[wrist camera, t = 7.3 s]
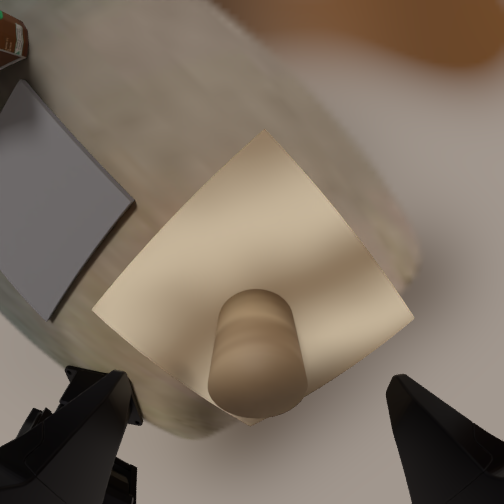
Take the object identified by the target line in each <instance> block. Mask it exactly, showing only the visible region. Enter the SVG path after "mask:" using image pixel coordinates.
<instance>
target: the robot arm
mask: <svg viewBox="0 0 504 504" xmlns="http://www.w3.org/2000/svg"><path fill="white" fill-rule="evenodd" d="M65 372H66V375H67V377H68V379H69V381H70V384H69V385H68V387H67V389H66V390H65V392H64V394H63V395H62V397H61V399H60V401H59V402H60V404H59V406H58V408H57V410H56V411H55V413H53V414H52V413H51V411H50V410H49V409H47V408H45V409H44V410H43V411H41V410H38V409H36V408H33V409H32V411H31V412H30V414H29V416H28V417H27V419H26V420H25V422H24V424H23V426H22V428H21V429H20V431H19V433H18V435H17V437H16V438H15V439H14V440H12V441H10V442H8V443H6V444H5V445H3V446H1V447H0V504H136V482H137V467H135V466H133V465H131V464H130V465H129V464H128V463H126V462H124V461H122V460H121V459H119V458H117V457H116V455H117V452H118V449H119V446H120V443H121V440H122V437H123V434H124V432H125V429H126V426H127V424H133V425H138V426H141V425H142V423H143V419H142V416H141V414H140V411H139V408H138V405H137V403H136V400H135V397H134V394H133V391H132V388H131V385H130V382H129V380H128V377H127V374H126V372H124V371H120V370H113V371H111V372H110V373H109V374H105V373H100V372H95V371H91V370H86V369H81V368H77V367H73V366H67V367H66V368H65ZM386 399H387V404H388V409H389V415H390V420H391V425H392V430H393V434H394V438H395V441H396V445H397V448H398V451H399V455H400V458H401V462H402V466H403V469H404V473H405V477H406V481H407V485H408V489H409V493H410V497H411V501H412V504H504V441H501V440H500V439H498V438H496V437H495V436H493V435H491V434H490V433H488V432H486V431H485V430H483V429H482V428H481V427H479V426H478V425H476V424H475V423H472V421H470V420H469V419H468V418H466V417H465V416H463V415H462V414H460V413H459V412H457V411H456V410H455V409H453V408H452V407H451V406H449V405H448V404H446V403H445V402H443V401H442V400H440V399H439V398H438V397H436V396H435V395H434V394H432V393H430V392H429V391H428V390H427V389H425V388H424V387H422V386H421V385H420V384H418V383H417V382H415V381H414V380H413V379H411V378H410V377H408V376H407V375H406V374H398V375H395V376H393V377H392V380H391V382H390V384H389V386H388V388H387V391H386Z"/></svg>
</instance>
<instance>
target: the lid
mask: <svg viewBox="0 0 504 504" xmlns="http://www.w3.org/2000/svg"><path fill="white" fill-rule="evenodd" d="M92 311H93V312H94V313H96V314H97V315H98V316H99V317H100V318H101V319H102V320H103V321H104V322H105V323H106V324H108V325H109V326H110V327H111V328H112V329H113V330H114V331H116V332H117V333H118V334H119V335H120V336H121V337H123V338H124V339H125V340H126V341H127V342H129V343H130V344H131V345H132V346H133V347H135V348H136V349H137V350H138V351H140V352H141V353H142V354H143V355H145V356H146V357H147V358H148V359H150V360H151V361H152V362H154V363H155V364H156V365H157V366H159V367H160V368H161V369H163V370H164V371H165V372H167V373H168V374H170V375H171V376H172V377H174V378H175V379H176V380H178V381H179V382H181V383H182V384H184V385H185V386H186V387H188V388H189V389H191V390H192V391H194V392H195V393H197V394H198V395H200V396H201V397H203V398H204V399H206V400H207V401H209V402H210V403H212V404H213V405H215V406H217V407H218V408H220V409H221V410H223V411H225V412H226V413H228V414H230V415H231V416H233V417H235V418H236V419H238V420H240V421H241V422H243V423H245V424H247V425H248V426H252V425H254V424H256V423H258V422H260V421H262V420H264V419H266V418H268V417H273V416H277V415H280V414H283V413H285V412H287V411H289V410H291V409H292V408H294V407H295V406H296V405H298V403H299V402H301V400H302V399H303V398H304V397H305V396H307V395H309V394H310V393H312V392H314V391H315V390H317V389H318V388H320V387H322V386H323V385H325V384H326V383H328V382H329V381H331V380H333V379H334V378H336V377H337V376H339V375H340V374H342V373H343V372H345V371H346V370H347V369H349V368H350V367H352V366H353V365H355V364H356V363H358V362H359V361H360V360H362V359H363V358H364V357H366V356H367V355H369V354H370V353H371V352H373V351H374V350H375V349H377V348H378V347H379V346H381V345H382V344H383V343H385V342H386V341H387V340H389V339H390V338H391V337H392V336H394V335H395V334H396V333H397V332H399V331H400V330H401V329H402V328H404V327H405V326H406V325H407V324H408V323H410V322H411V321H412V320H413V319H414V316H413V315H412V313H411V312H410V310H409V309H408V307H407V306H406V304H405V303H404V301H403V299H402V298H401V297H400V295H399V294H398V292H397V291H396V289H395V288H394V286H393V285H392V283H391V282H390V281H389V279H388V278H387V276H386V275H385V273H384V272H383V271H382V269H381V268H380V266H379V265H378V264H377V262H376V261H375V260H374V258H373V257H372V256H371V254H370V253H369V251H368V250H367V249H366V247H365V246H364V245H363V244H362V242H361V241H360V240H359V238H358V237H357V236H356V234H355V233H354V232H353V230H352V229H351V228H350V227H349V225H348V224H347V223H346V222H345V220H344V219H343V218H342V217H341V215H340V214H339V213H338V212H337V210H336V209H335V208H334V207H333V205H332V204H331V203H330V202H329V201H328V199H327V198H326V197H325V196H324V195H323V193H322V192H321V191H320V190H319V189H318V187H317V186H316V185H315V184H314V183H313V182H312V180H311V179H310V178H309V177H308V176H307V175H306V173H305V172H304V171H303V170H302V169H301V168H300V167H299V166H298V164H297V163H296V162H295V161H294V160H293V159H292V158H291V157H290V155H289V154H288V153H287V152H286V151H285V150H284V149H283V148H282V147H281V146H280V145H279V144H278V142H277V141H276V140H275V139H274V138H273V137H272V136H271V135H270V134H269V133H268V132H267V131H266V130H265V129H264V130H263V131H261V132H260V133H259V134H258V135H257V136H256V137H255V138H254V139H252V140H251V141H250V142H249V143H248V144H247V145H246V146H245V147H244V148H243V149H241V150H240V151H239V152H238V153H237V154H236V155H235V156H234V157H233V158H232V159H231V160H230V161H229V162H227V163H226V164H225V165H224V166H223V167H222V168H221V169H220V170H219V171H218V172H217V173H216V174H215V175H214V176H213V177H212V178H211V179H210V180H209V181H208V182H207V183H206V184H205V185H204V186H203V187H202V188H201V189H200V190H199V191H198V192H197V193H196V194H195V195H194V196H193V197H192V198H191V199H190V200H189V201H188V202H187V203H186V204H185V205H184V206H183V207H182V208H181V209H180V210H179V211H178V212H177V213H176V214H175V215H174V216H173V217H172V218H171V219H170V220H169V221H168V222H167V223H166V225H165V226H164V227H163V228H162V229H161V230H160V231H159V232H158V233H157V234H156V235H155V236H154V237H153V239H152V240H151V241H150V242H149V243H148V244H147V245H146V246H145V247H144V248H143V250H142V251H141V252H140V253H139V254H138V255H137V256H136V257H135V259H134V260H133V261H132V262H131V263H130V264H129V265H128V267H127V268H126V269H125V270H124V271H123V272H122V274H121V275H120V276H119V277H118V278H117V279H116V281H115V282H114V283H113V284H112V285H111V287H110V288H109V289H108V290H107V291H106V293H105V294H104V295H103V296H102V297H101V299H100V300H99V301H98V302H97V304H96V305H95V306H94V307H93V309H92Z"/></svg>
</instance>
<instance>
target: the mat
mask: <svg viewBox="0 0 504 504" xmlns="http://www.w3.org/2000/svg"><path fill="white" fill-rule="evenodd" d="M134 201H135V200H134V199H133V198H132V197H131V196H130V195H129V194H128V193H127V192H126V191H125V190H124V189H123V188H122V187H121V186H120V184H119V183H118V182H117V181H116V180H115V179H114V178H113V177H112V176H111V175H110V174H109V173H108V172H107V171H106V170H105V169H104V168H103V167H102V166H101V165H100V164H99V163H98V161H97V160H96V159H95V158H94V157H93V156H92V155H91V154H90V153H89V152H88V151H87V150H86V149H85V148H84V146H83V145H82V144H81V143H80V142H79V141H78V140H77V139H76V138H75V137H74V136H73V134H72V133H71V132H70V131H69V130H68V129H67V128H66V127H65V126H64V124H63V123H62V122H61V121H60V120H59V119H58V118H57V117H56V115H55V114H54V113H53V112H52V111H51V110H50V109H49V107H48V106H47V105H46V104H45V103H44V102H43V101H42V99H41V98H40V97H39V96H38V95H37V94H36V92H35V91H34V90H33V89H32V88H31V86H30V85H29V84H28V83H27V82H26V80H22V79H20V80H19V82H18V83H17V85H16V86H15V88H14V90H13V91H12V93H11V95H10V97H9V98H8V100H7V102H6V104H5V106H4V107H3V109H2V111H1V113H0V270H1V271H2V273H3V274H4V275H5V276H6V278H7V279H8V280H9V281H10V283H11V284H12V285H13V286H14V287H15V288H16V290H17V291H18V292H19V293H20V294H21V295H22V297H23V298H24V299H25V300H26V301H27V302H28V303H29V304H30V305H31V306H32V308H33V309H34V310H35V311H36V312H37V313H38V314H39V315H40V316H41V317H42V318H43V319H44V320H45V321H46V322H47V321H48V320H49V319H50V317H51V316H52V314H53V312H54V311H55V309H56V307H57V306H58V304H59V303H60V301H61V300H62V298H63V296H64V295H65V293H66V292H67V290H68V289H69V287H70V286H71V284H72V283H73V281H74V280H75V278H76V277H77V275H78V274H79V272H80V271H81V270H82V268H83V267H84V265H85V264H86V262H87V261H88V260H89V258H90V257H91V256H92V254H93V253H94V251H95V250H96V249H97V247H98V246H99V245H100V243H101V242H102V241H103V239H104V238H105V237H106V235H107V234H108V233H109V232H110V230H111V229H112V228H113V226H114V225H115V224H116V223H117V221H118V220H119V219H120V218H121V216H122V215H123V214H124V213H125V212H126V210H127V209H128V208H129V207H130V205H131V204H132V203H133V202H134Z"/></svg>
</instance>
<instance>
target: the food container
mask: <svg viewBox="0 0 504 504" xmlns="http://www.w3.org/2000/svg"><path fill="white" fill-rule="evenodd" d="M28 46H29V42H28V31H27V29H26V27H25V25H24V24H23V22H22V21H20V20H18V19H16V18H14V17H12V16H10V15H8V14H6V13H4V12H2V11H0V70H1V69H3V68H5V67H7V66H9V65H11V64H14V63H16V62H18V61H20V60H23V59H25V58H27V54H28Z"/></svg>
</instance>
